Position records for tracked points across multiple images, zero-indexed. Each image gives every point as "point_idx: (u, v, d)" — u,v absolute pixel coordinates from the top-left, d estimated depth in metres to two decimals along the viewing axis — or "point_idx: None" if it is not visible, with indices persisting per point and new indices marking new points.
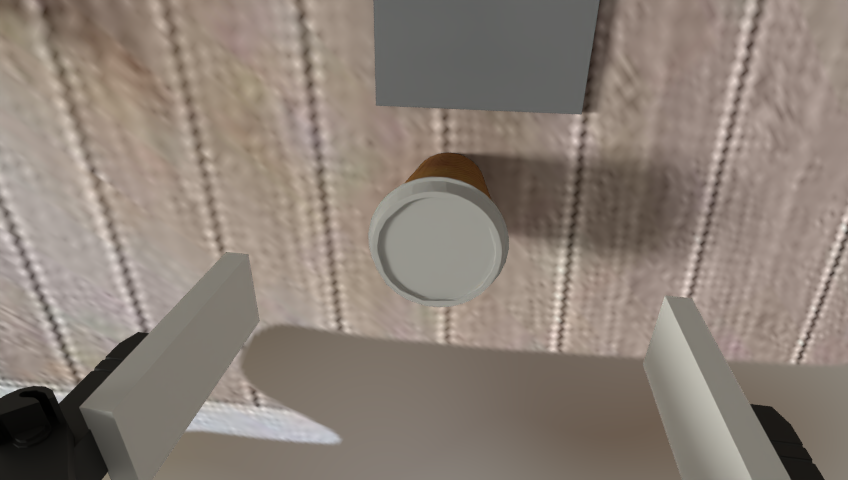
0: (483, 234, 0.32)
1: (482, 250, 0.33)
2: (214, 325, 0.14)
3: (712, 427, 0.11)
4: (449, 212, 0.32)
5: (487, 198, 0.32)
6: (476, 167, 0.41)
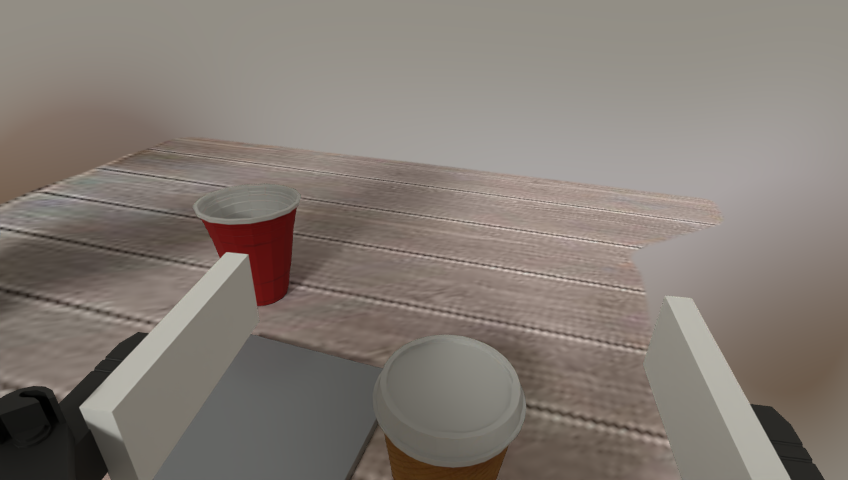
0: (441, 348, 0.34)
1: (458, 352, 0.34)
2: (214, 325, 0.14)
3: (712, 427, 0.11)
4: (411, 365, 0.32)
5: None
6: None
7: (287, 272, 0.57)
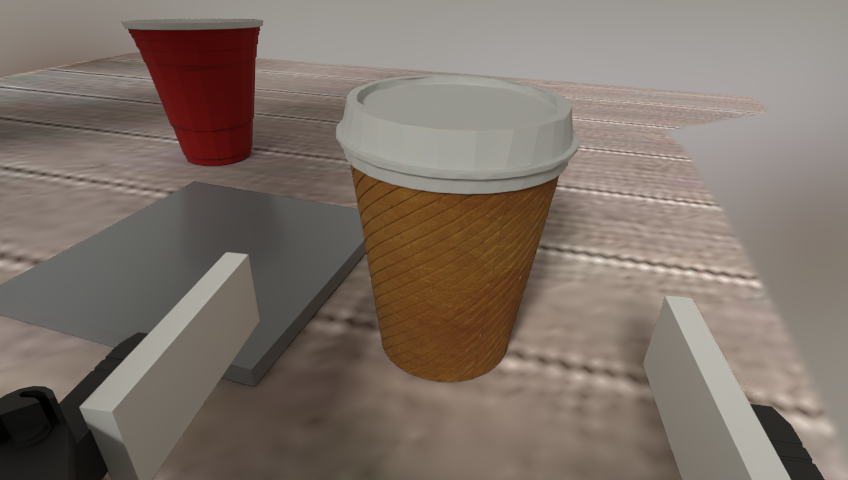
0: (444, 86, 0.23)
1: (469, 89, 0.22)
2: (214, 325, 0.14)
3: (712, 427, 0.11)
4: (397, 94, 0.21)
5: None
6: None
7: (249, 126, 0.45)
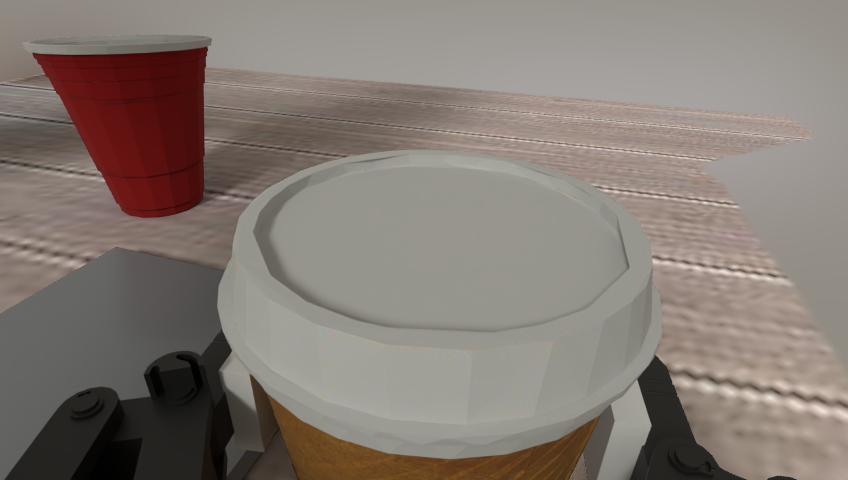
0: (423, 173, 0.14)
1: (464, 179, 0.14)
2: None
3: None
4: (341, 197, 0.12)
5: None
6: None
7: (197, 167, 0.37)
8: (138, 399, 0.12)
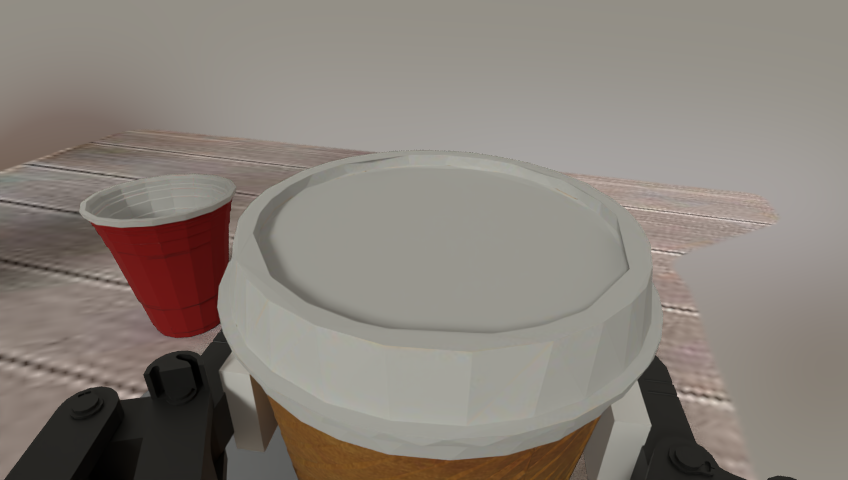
0: (423, 173, 0.14)
1: (464, 179, 0.14)
2: None
3: None
4: (341, 198, 0.12)
5: None
6: None
7: None
8: (138, 399, 0.12)
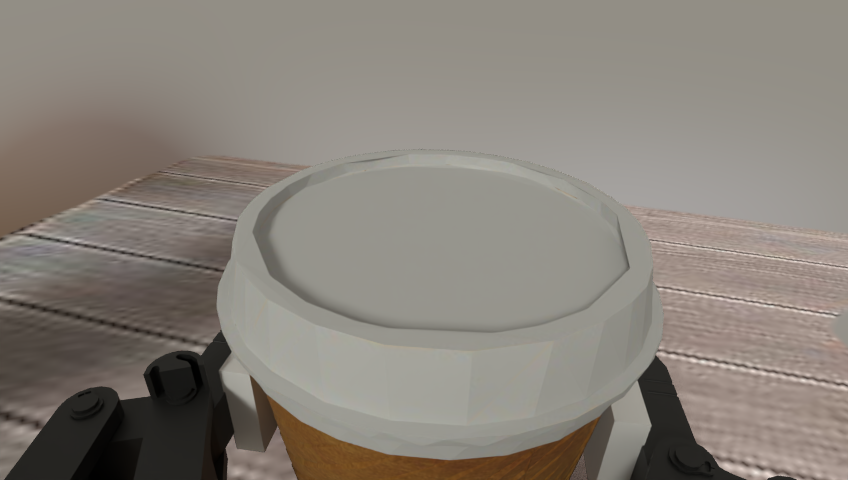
0: (423, 173, 0.14)
1: (464, 179, 0.14)
2: None
3: None
4: (341, 197, 0.12)
5: None
6: None
7: None
8: (138, 399, 0.12)
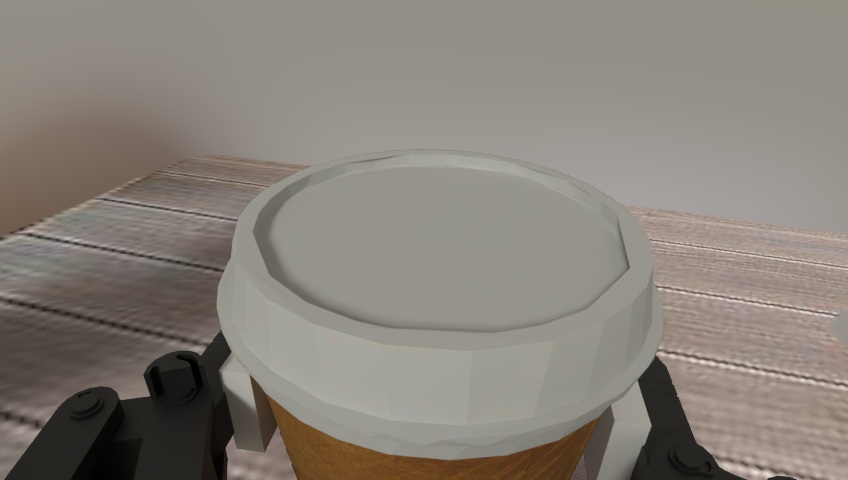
0: (423, 173, 0.14)
1: (464, 179, 0.14)
2: None
3: None
4: (341, 197, 0.12)
5: None
6: None
7: None
8: (138, 399, 0.12)
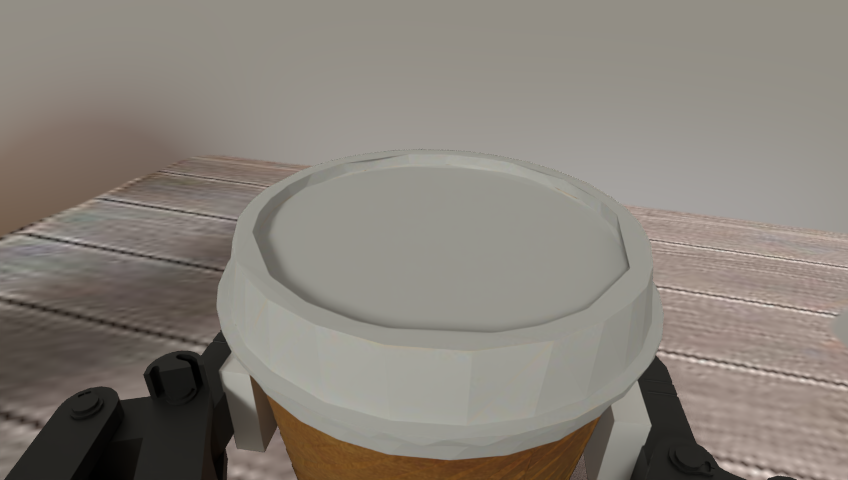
0: (423, 173, 0.14)
1: (464, 179, 0.14)
2: None
3: None
4: (341, 197, 0.12)
5: None
6: None
7: None
8: (138, 399, 0.12)
